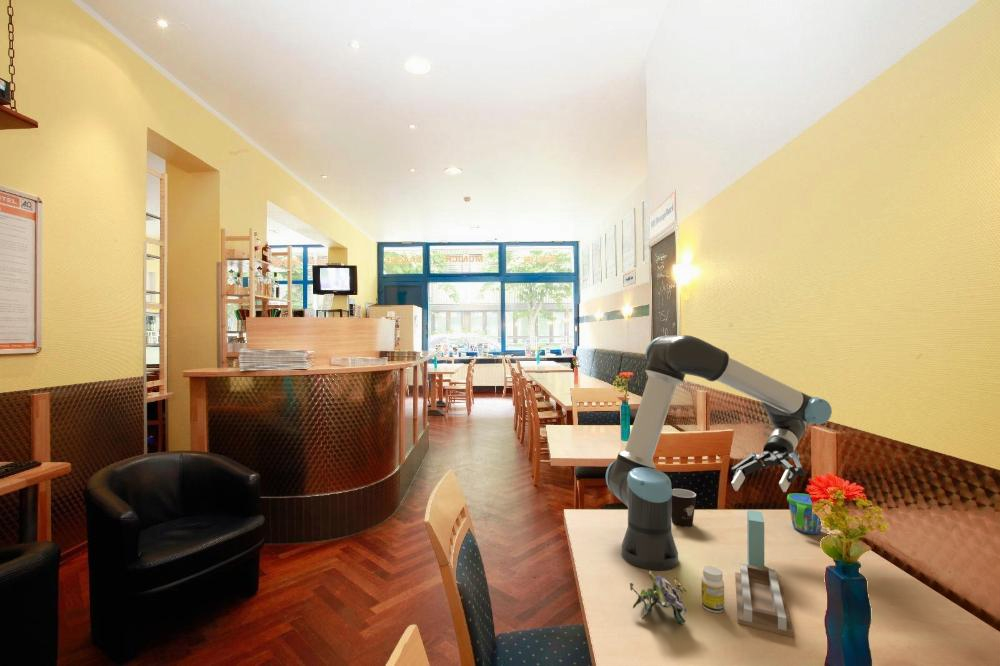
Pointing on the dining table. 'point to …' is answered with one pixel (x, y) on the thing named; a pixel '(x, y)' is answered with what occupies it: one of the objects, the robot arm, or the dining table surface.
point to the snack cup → (803, 514)
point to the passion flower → (663, 597)
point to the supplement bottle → (712, 589)
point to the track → (761, 600)
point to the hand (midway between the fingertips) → (757, 487)
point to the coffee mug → (683, 507)
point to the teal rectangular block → (755, 538)
